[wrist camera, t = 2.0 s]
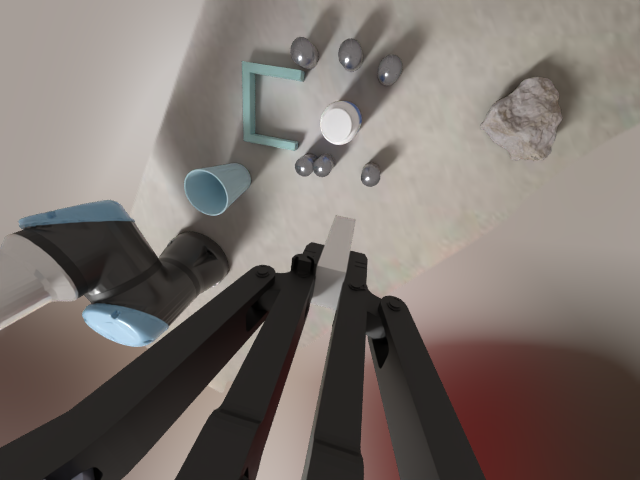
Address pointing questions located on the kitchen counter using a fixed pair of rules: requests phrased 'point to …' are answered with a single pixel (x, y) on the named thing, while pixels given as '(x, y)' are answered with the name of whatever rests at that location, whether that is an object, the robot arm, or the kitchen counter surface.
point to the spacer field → (351, 61)
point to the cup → (216, 187)
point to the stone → (526, 120)
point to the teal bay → (249, 102)
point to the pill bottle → (340, 122)
